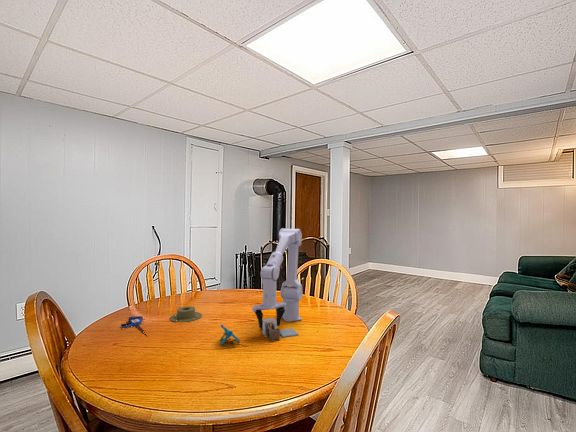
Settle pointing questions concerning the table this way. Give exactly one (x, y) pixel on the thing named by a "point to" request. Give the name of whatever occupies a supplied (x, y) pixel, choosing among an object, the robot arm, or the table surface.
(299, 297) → the robot arm
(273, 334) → the rail
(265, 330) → the bracket
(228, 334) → the blue lobed piece
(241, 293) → the table surface
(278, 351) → the table surface
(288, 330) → the mat
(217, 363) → the table surface
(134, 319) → the bar clamp
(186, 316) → the flange
